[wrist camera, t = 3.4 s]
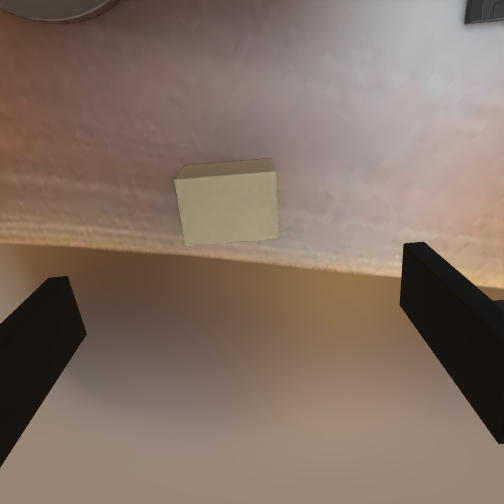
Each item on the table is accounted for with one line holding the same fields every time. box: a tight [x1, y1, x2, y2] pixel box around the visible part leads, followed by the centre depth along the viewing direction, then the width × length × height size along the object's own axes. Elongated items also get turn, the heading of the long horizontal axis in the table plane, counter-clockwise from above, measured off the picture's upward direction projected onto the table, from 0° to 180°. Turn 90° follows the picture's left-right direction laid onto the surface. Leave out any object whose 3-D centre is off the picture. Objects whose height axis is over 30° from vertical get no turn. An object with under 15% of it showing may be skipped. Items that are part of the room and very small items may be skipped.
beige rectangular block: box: [174, 158, 279, 246], centre depth 29 cm, size 7×5×5 cm
